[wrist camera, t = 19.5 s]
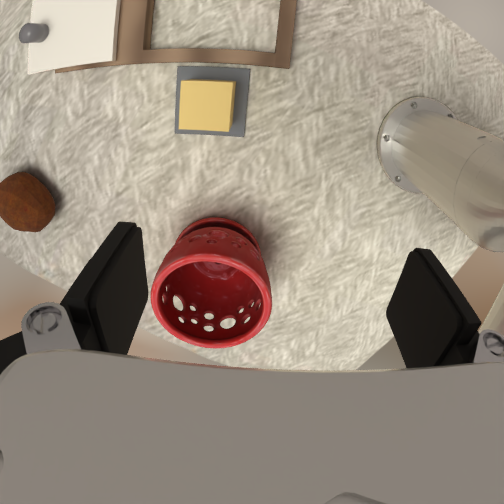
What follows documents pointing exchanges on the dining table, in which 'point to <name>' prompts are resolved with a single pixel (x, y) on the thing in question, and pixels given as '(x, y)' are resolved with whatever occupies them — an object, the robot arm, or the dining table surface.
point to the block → (206, 104)
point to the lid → (70, 33)
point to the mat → (217, 74)
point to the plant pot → (213, 284)
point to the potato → (25, 203)
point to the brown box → (138, 49)
